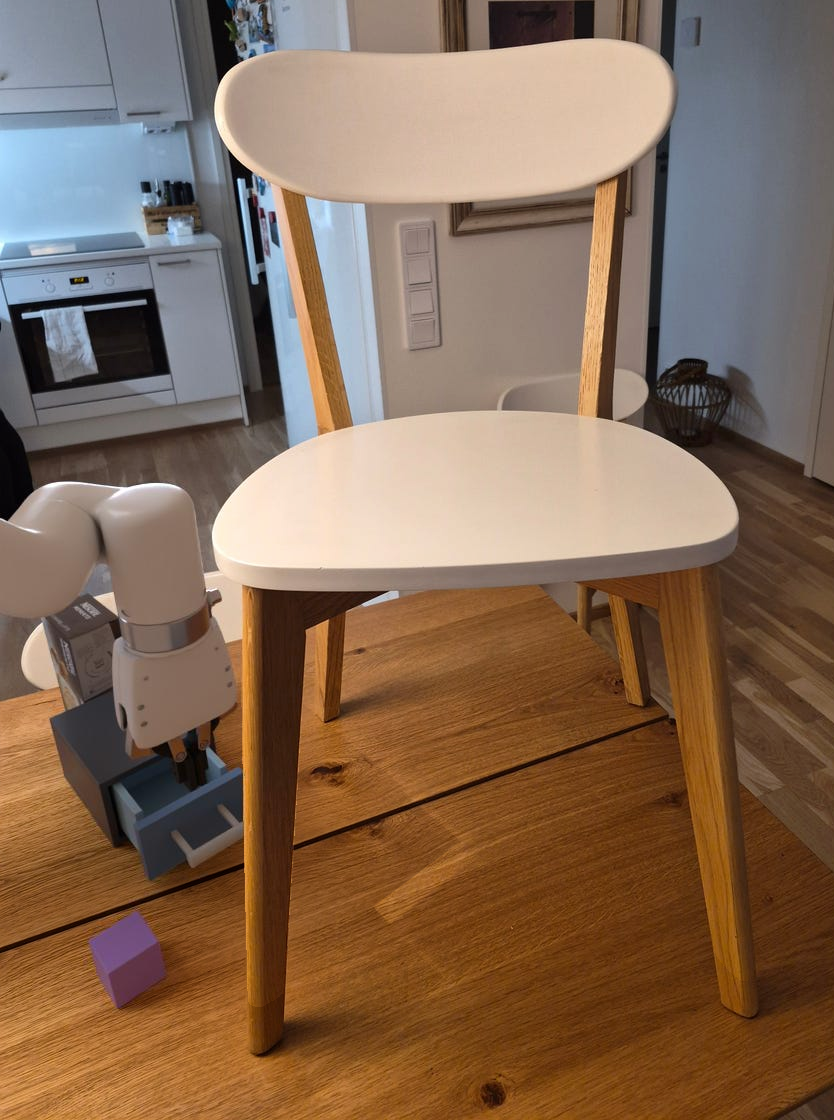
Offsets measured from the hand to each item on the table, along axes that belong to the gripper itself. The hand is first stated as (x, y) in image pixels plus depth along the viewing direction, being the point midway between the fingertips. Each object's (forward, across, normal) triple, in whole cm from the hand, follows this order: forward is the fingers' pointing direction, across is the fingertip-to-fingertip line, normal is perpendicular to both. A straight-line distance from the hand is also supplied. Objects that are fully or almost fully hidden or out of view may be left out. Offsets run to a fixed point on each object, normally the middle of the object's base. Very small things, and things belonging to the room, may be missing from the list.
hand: (192, 780), depth 83 cm
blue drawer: (+11, 0, -6) cm, 12 cm away
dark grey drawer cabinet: (+12, 0, -17) cm, 20 cm away
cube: (+12, +10, +6) cm, 17 cm away
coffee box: (+12, -2, -31) cm, 33 cm away
